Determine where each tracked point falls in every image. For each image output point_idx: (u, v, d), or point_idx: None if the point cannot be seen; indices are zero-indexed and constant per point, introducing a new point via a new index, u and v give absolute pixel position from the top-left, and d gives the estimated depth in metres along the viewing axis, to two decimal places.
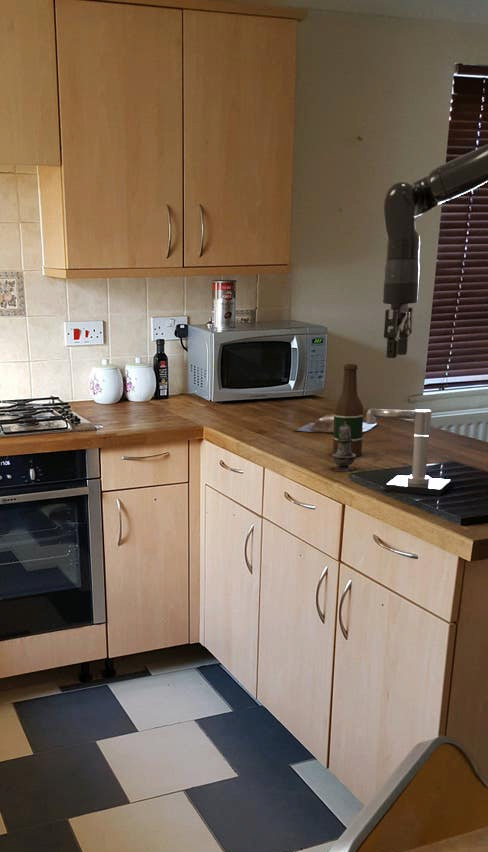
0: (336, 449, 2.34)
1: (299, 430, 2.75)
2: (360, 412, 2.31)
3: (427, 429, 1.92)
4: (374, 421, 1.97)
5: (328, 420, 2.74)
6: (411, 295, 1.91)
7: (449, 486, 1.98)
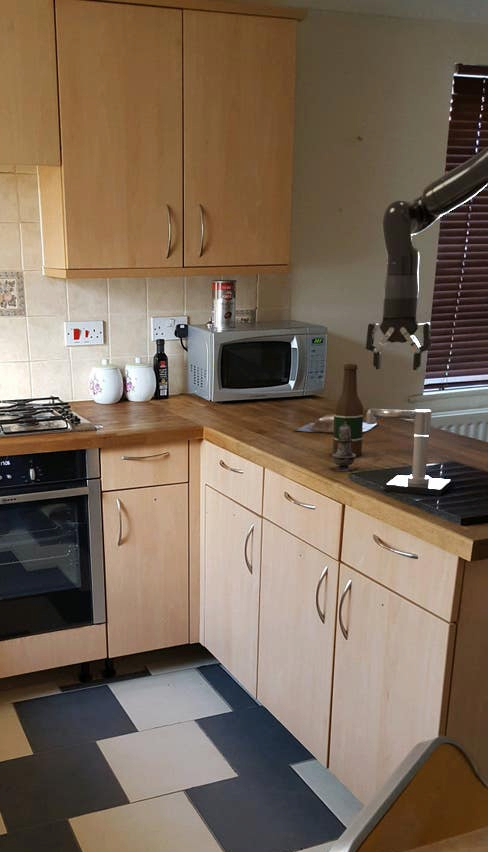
0: (336, 449, 2.34)
1: (299, 430, 2.75)
2: (360, 412, 2.31)
3: (427, 429, 1.92)
4: (374, 421, 1.97)
5: (328, 420, 2.74)
6: (387, 311, 1.97)
7: (449, 486, 1.98)
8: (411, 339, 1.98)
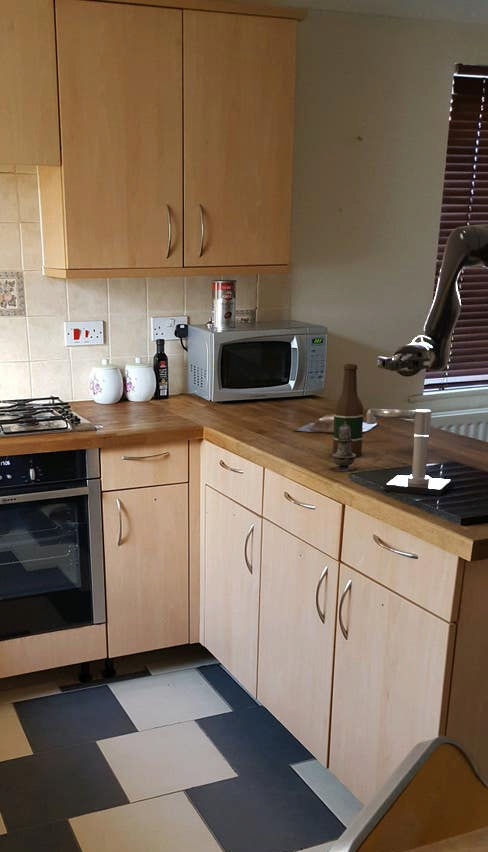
0: (336, 449, 2.34)
1: (299, 430, 2.75)
2: (360, 412, 2.31)
3: (427, 429, 1.92)
4: (374, 421, 1.97)
5: (328, 420, 2.74)
6: None
7: (449, 486, 1.98)
8: (407, 355, 2.06)
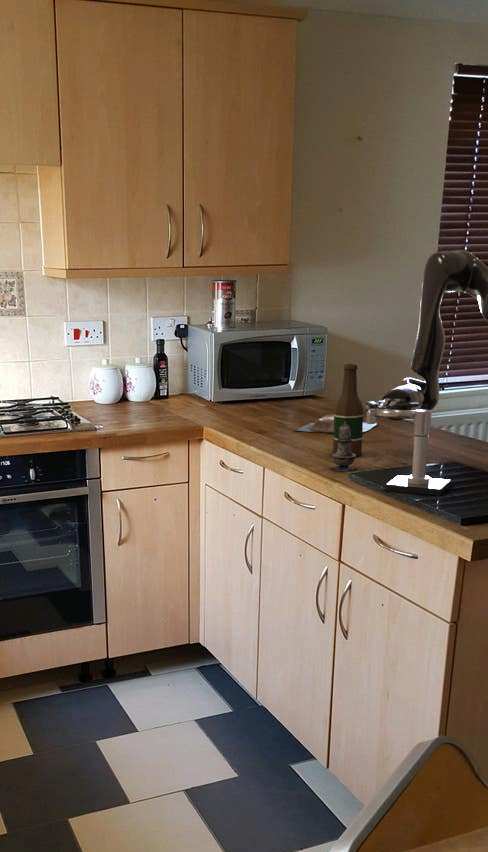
0: (336, 449, 2.34)
1: (299, 430, 2.75)
2: (360, 412, 2.31)
3: (427, 429, 1.92)
4: (374, 421, 1.97)
5: (328, 420, 2.74)
6: None
7: (449, 486, 1.98)
8: (396, 401, 2.02)
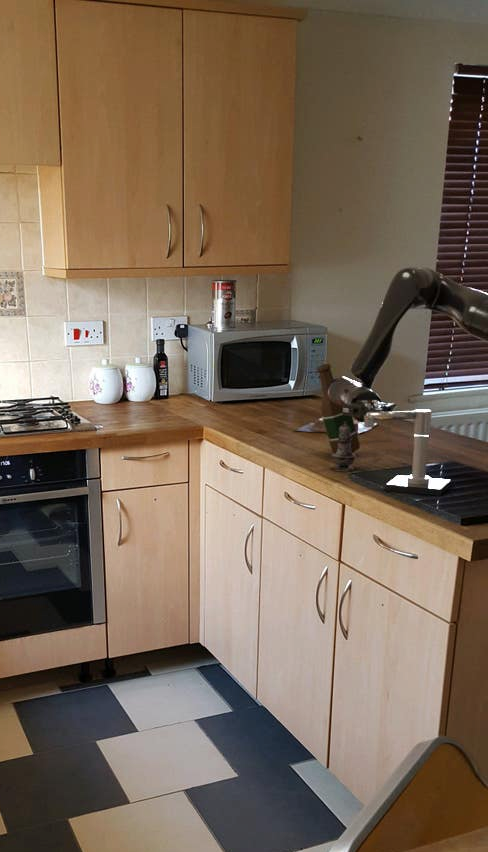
0: (334, 449, 2.34)
1: (299, 430, 2.75)
2: None
3: (429, 429, 1.92)
4: (373, 424, 1.93)
5: None
6: (356, 392, 2.06)
7: (449, 486, 1.98)
8: (377, 402, 2.00)
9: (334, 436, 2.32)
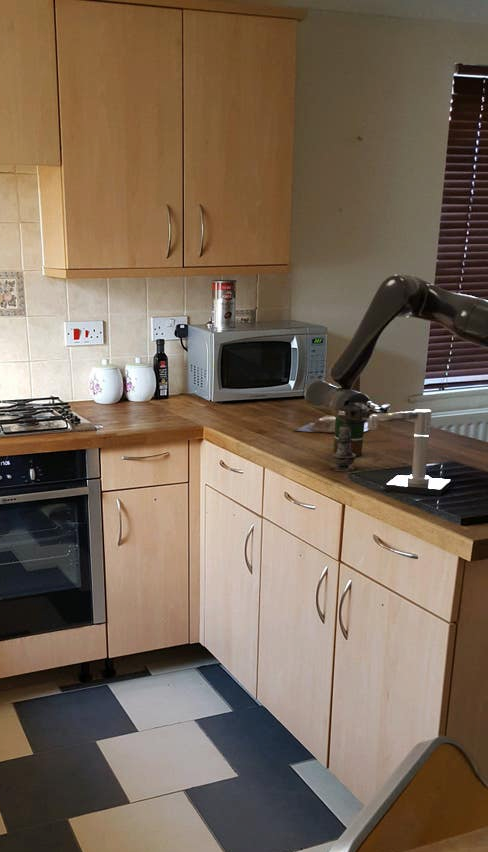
0: (336, 448, 2.34)
1: (299, 430, 2.75)
2: None
3: None
4: (377, 426, 1.91)
5: (328, 420, 2.74)
6: (346, 395, 2.04)
7: (449, 486, 1.98)
8: (373, 404, 1.98)
9: None
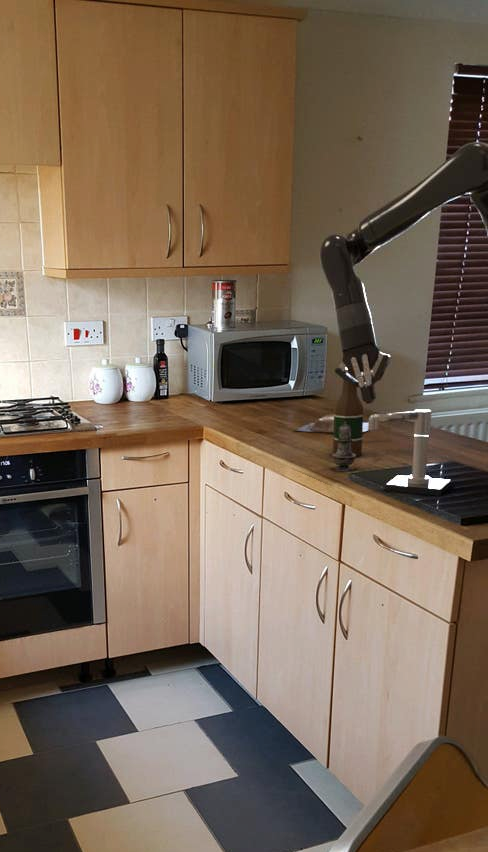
0: (336, 449, 2.34)
1: (299, 430, 2.75)
2: (360, 412, 2.31)
3: None
4: (378, 426, 1.90)
5: (328, 420, 2.74)
6: (344, 342, 1.94)
7: (449, 486, 1.98)
8: (368, 369, 1.94)
9: None
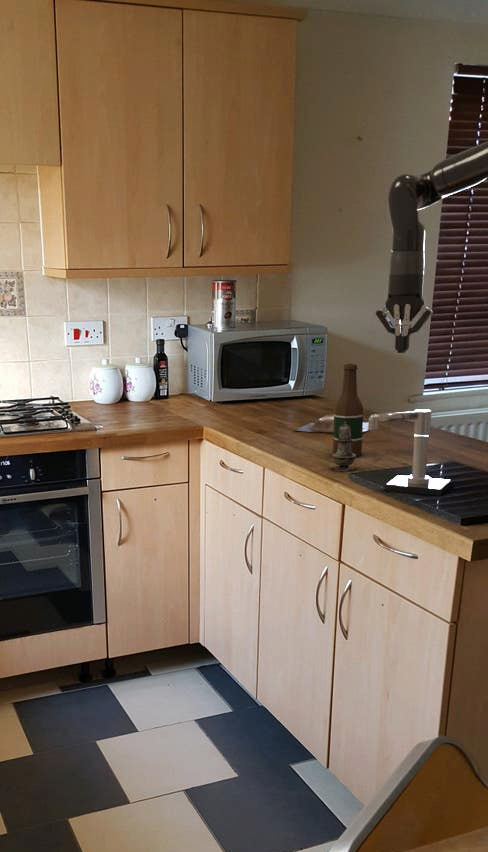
0: (336, 449, 2.34)
1: (299, 430, 2.75)
2: (360, 412, 2.31)
3: None
4: (378, 426, 1.90)
5: (328, 420, 2.74)
6: (392, 287, 1.94)
7: (449, 486, 1.98)
8: (407, 320, 1.96)
9: None
